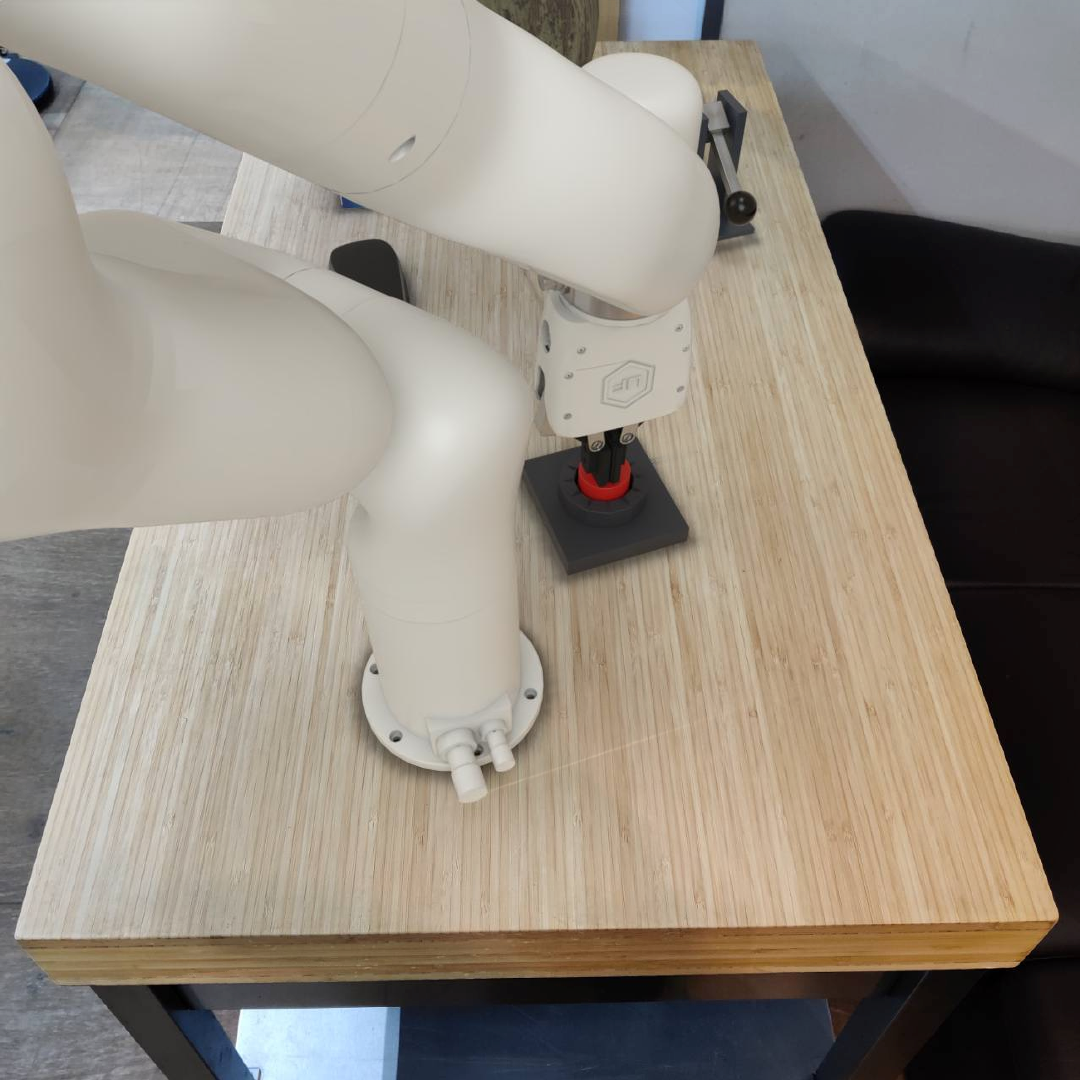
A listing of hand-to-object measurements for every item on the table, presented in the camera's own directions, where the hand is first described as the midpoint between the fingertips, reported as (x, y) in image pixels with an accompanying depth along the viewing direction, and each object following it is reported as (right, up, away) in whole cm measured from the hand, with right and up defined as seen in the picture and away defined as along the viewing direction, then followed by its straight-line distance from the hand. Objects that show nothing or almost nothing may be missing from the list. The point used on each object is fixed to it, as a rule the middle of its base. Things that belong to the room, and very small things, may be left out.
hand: (601, 471), depth 75 cm
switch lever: (+13, +30, +20) cm, 39 cm away
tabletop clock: (-6, +44, +41) cm, 60 cm away
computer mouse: (-21, +19, +21) cm, 35 cm away
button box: (0, -3, +4) cm, 5 cm away
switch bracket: (+12, +28, +28) cm, 41 cm away
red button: (0, -1, +2) cm, 2 cm away
